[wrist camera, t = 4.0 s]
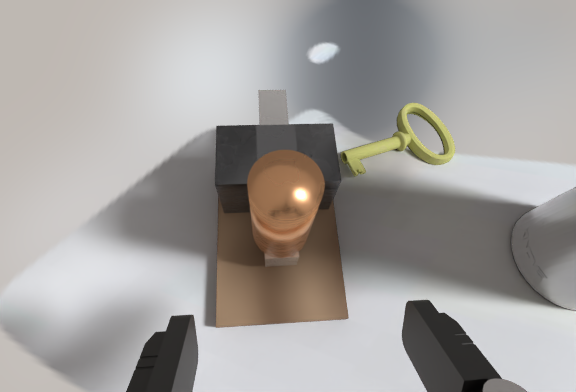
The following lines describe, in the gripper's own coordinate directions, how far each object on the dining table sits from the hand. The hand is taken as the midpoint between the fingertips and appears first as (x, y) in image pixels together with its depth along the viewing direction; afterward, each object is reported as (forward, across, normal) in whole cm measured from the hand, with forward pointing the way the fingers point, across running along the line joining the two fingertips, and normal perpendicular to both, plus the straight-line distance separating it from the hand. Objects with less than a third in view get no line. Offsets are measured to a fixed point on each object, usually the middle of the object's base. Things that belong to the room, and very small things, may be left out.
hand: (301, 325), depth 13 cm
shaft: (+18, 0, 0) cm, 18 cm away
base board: (+16, 0, +5) cm, 17 cm away
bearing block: (+19, 0, +2) cm, 19 cm away
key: (+23, -13, -1) cm, 26 cm away
